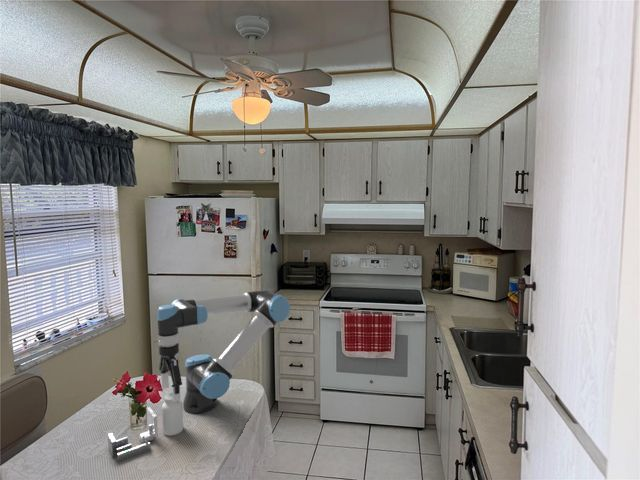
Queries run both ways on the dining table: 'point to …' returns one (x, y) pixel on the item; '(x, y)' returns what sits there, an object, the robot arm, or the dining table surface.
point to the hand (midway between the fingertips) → (170, 394)
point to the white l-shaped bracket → (150, 427)
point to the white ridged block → (124, 447)
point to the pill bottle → (172, 416)
